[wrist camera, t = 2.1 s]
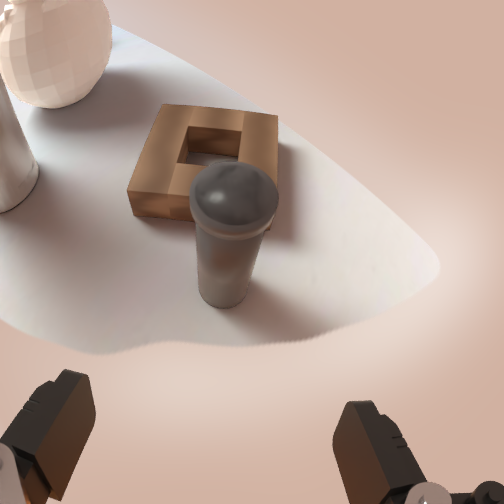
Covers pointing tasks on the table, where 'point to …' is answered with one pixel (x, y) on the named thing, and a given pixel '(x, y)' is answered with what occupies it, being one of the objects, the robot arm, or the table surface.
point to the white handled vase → (54, 49)
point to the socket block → (196, 140)
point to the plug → (229, 227)
